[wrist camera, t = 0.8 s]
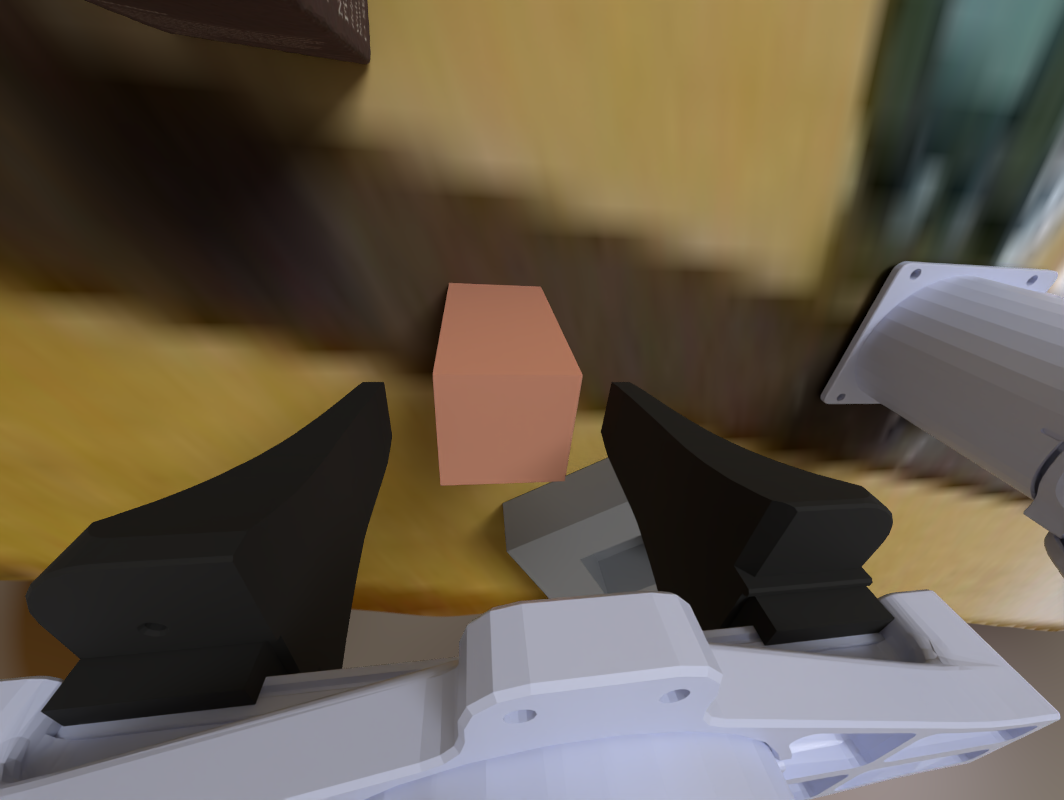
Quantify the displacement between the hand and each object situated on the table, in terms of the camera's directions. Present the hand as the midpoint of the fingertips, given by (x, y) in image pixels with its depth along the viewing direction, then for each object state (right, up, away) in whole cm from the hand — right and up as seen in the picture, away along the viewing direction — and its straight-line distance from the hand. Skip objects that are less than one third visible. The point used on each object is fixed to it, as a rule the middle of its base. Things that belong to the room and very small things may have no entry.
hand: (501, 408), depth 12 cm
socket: (+7, -8, +14) cm, 18 cm away
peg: (-1, +4, +6) cm, 7 cm away
